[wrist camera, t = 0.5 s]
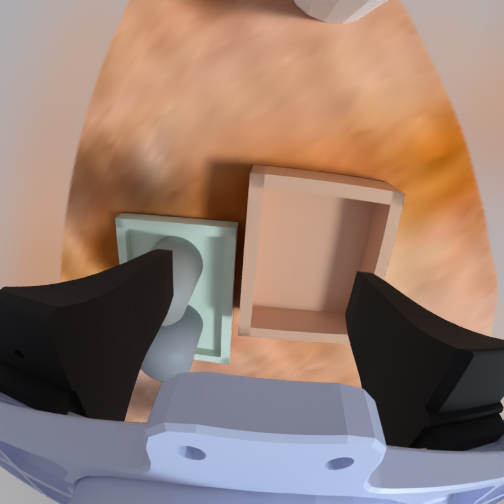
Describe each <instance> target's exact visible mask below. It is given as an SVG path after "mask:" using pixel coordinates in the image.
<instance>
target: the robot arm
mask: <svg viewBox="0 0 504 504" xmlns="http://www.w3.org/2000/svg"><path fill="white" fill-rule="evenodd" d="M173 296H174V287H173V251H172V250H164V249H155V250H152V251H150V252H147V253H145V254H143V255H140V256H138V257H136V258H134V259H131V260H129V261H127V262H125V263H123V264H120V265H118V266H115V267H113V268H110V269H108V270H105V271H103V272H100V273H97V274H94V275H91V276H87V277H84V278H80V279H76V280H71V281H66V282H62V283H57V284H50V285H41V286H29V287H28V286H27V287H3V288H2V289H1V290H0V466H1V467H2V468H4V469H5V470H7V471H8V472H9V473H11V474H13V475H14V476H15V477H17V478H18V479H20V480H21V481H23V482H24V483H26V484H27V485H29V486H31V487H32V488H34V489H35V490H37V491H39V492H40V493H42V494H44V495H46V496H47V497H49V498H51V499H53V500H54V501H56V502H58V503H60V504H497V503H499V502H501V501H503V500H504V420H502V418H501V416H500V414H499V413H501V412H502V411H503V405H502V404H501V402H500V401H501V399H502V398H503V397H504V340H501V339H497V338H493V337H489V336H486V335H482V334H479V333H476V332H473V331H470V330H468V329H465V328H463V327H460V326H458V325H456V324H453V323H451V322H449V321H447V320H445V319H443V318H441V317H439V316H437V315H435V314H433V313H432V312H430V311H428V310H426V309H425V308H423V307H422V306H420V305H418V304H417V303H415V302H414V301H412V300H411V299H409V298H408V297H407V296H405V295H404V294H402V293H401V292H400V291H398V290H397V289H395V288H394V287H393V286H391V285H390V284H389V283H387V282H386V281H384V280H383V279H381V278H380V277H378V276H377V275H375V274H373V273H370V272H361V271H357V273H356V276H355V280H354V284H353V288H352V291H351V295H350V299H349V302H348V306H347V309H346V312H345V319H346V327H347V333H348V338H349V341H350V345H351V348H352V352H353V355H354V358H355V362H356V365H357V369H358V372H359V376H360V380H361V385H362V388H358V387H353V386H348V385H344V384H339V383H320V382H301V381H287V380H274V379H263V378H254V377H245V376H236V375H228V374H221V373H214V372H192V373H179V374H177V375H175V376H174V377H172V378H170V379H168V380H166V381H164V382H162V384H161V387H160V390H159V392H158V395H157V398H156V400H155V403H154V406H153V408H152V411H151V414H150V416H149V419H148V422H147V423H139V422H124V420H125V417H126V413H127V409H128V405H129V402H130V398H131V395H132V392H133V389H134V386H135V382H136V379H137V377H138V374H139V371H140V368H141V365H142V363H143V361H144V358H145V356H146V354H147V352H148V350H149V348H150V346H151V344H152V343H153V341H154V339H155V337H156V335H157V333H158V331H159V329H160V327H161V325H162V324H163V322H164V320H165V318H166V316H167V314H168V311H169V308H170V305H171V302H172V299H173Z"/></svg>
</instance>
